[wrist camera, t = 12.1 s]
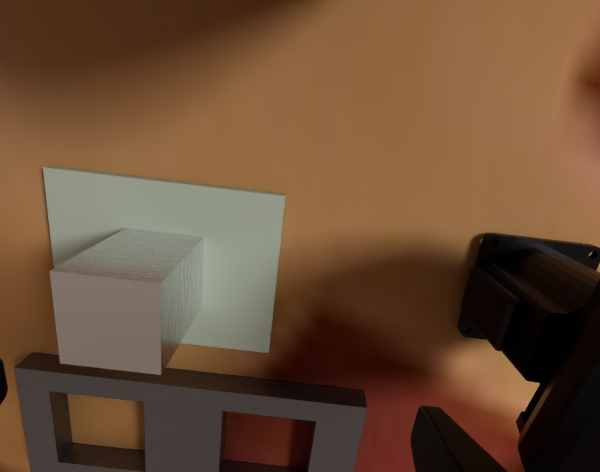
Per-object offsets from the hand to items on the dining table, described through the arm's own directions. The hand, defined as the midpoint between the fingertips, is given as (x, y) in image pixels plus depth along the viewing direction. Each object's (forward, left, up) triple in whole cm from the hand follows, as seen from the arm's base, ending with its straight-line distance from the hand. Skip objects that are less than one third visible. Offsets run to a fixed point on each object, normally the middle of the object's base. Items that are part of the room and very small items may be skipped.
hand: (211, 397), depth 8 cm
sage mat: (+6, +3, -13) cm, 15 cm away
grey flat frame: (+4, +15, -13) cm, 20 cm away
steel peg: (+6, +3, -12) cm, 14 cm away
